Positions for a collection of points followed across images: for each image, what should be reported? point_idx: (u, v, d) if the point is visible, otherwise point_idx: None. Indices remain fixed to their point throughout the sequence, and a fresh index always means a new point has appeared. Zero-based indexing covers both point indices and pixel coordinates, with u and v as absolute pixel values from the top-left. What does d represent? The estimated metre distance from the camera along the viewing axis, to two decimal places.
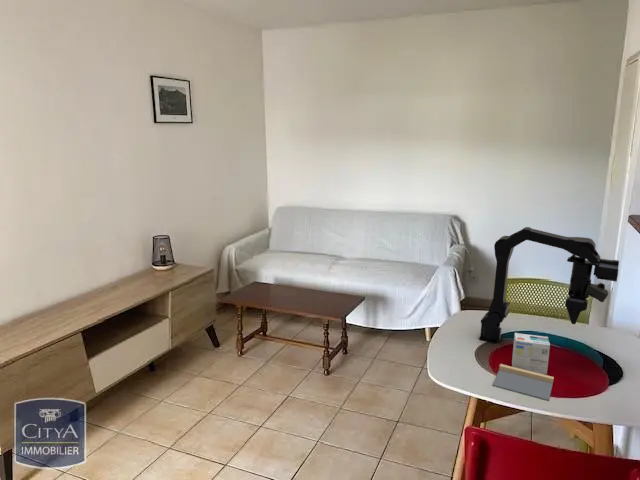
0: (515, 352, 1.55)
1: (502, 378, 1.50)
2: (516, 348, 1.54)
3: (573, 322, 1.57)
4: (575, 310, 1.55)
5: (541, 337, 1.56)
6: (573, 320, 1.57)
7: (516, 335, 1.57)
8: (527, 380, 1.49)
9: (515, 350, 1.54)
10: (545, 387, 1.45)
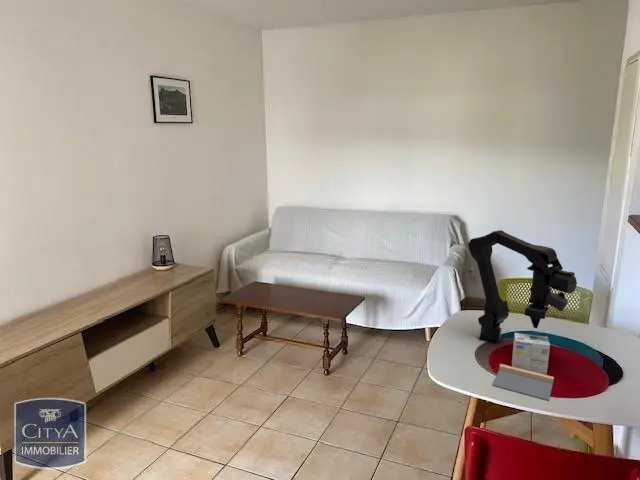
0: (515, 352, 1.55)
1: (502, 378, 1.50)
2: (516, 348, 1.54)
3: (535, 326, 1.62)
4: None
5: (541, 337, 1.56)
6: (535, 324, 1.61)
7: (516, 335, 1.57)
8: (527, 380, 1.49)
9: (515, 350, 1.54)
10: (545, 387, 1.45)
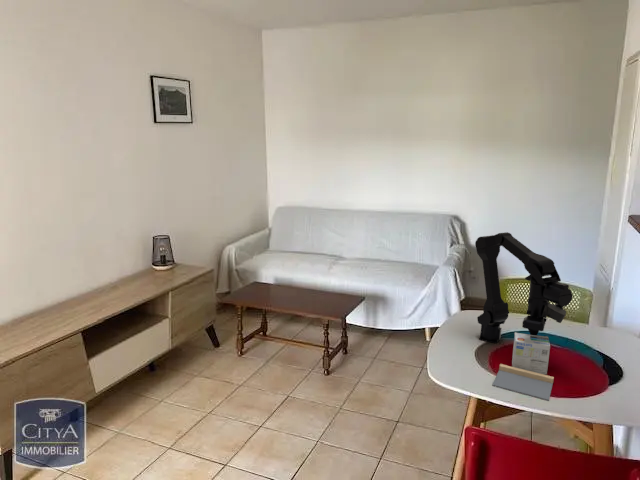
0: (515, 352, 1.54)
1: (502, 378, 1.50)
2: (516, 348, 1.54)
3: None
4: None
5: (541, 337, 1.55)
6: None
7: (516, 335, 1.57)
8: (527, 380, 1.49)
9: (515, 350, 1.54)
10: (545, 387, 1.45)
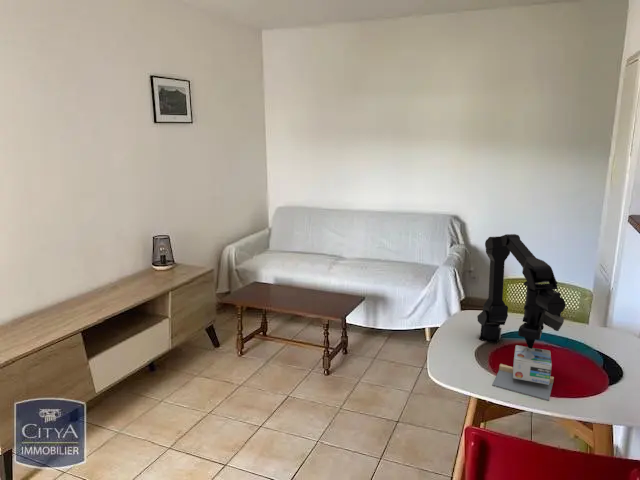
0: None
1: (502, 378, 1.50)
2: None
3: (530, 346, 1.52)
4: None
5: (543, 368, 1.43)
6: (530, 344, 1.52)
7: (515, 366, 1.46)
8: None
9: None
10: (545, 387, 1.45)
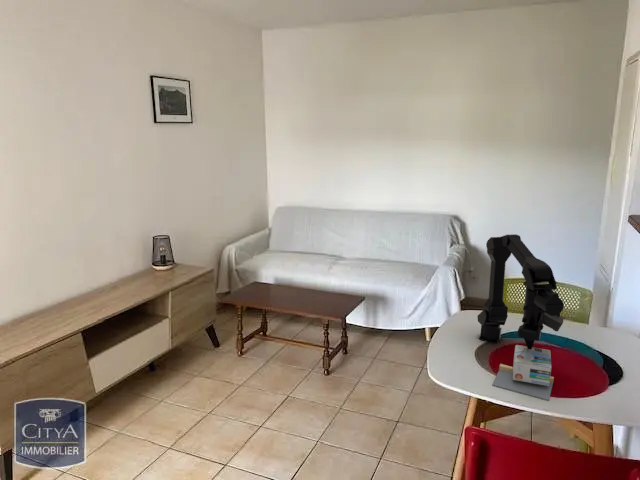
0: None
1: (502, 378, 1.50)
2: None
3: (529, 347, 1.51)
4: None
5: (543, 370, 1.43)
6: (529, 345, 1.51)
7: (515, 368, 1.46)
8: None
9: None
10: (545, 387, 1.45)
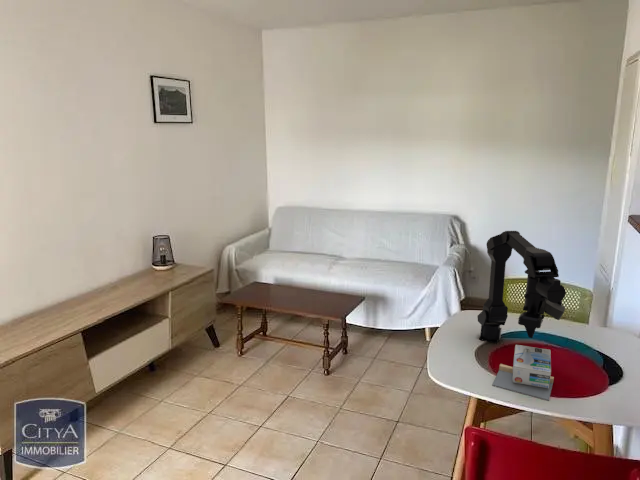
0: None
1: (502, 378, 1.50)
2: None
3: (530, 336, 1.50)
4: None
5: (542, 374, 1.42)
6: (530, 333, 1.49)
7: (514, 372, 1.46)
8: None
9: None
10: None
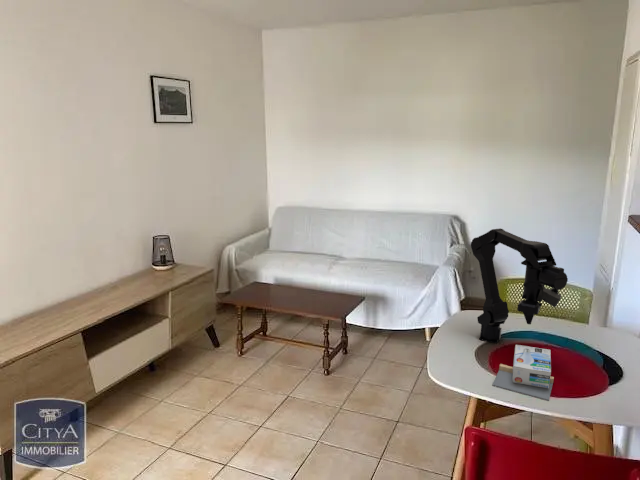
0: None
1: (502, 378, 1.50)
2: None
3: (528, 322, 1.60)
4: None
5: (542, 374, 1.42)
6: (529, 320, 1.59)
7: (514, 372, 1.46)
8: None
9: None
10: None
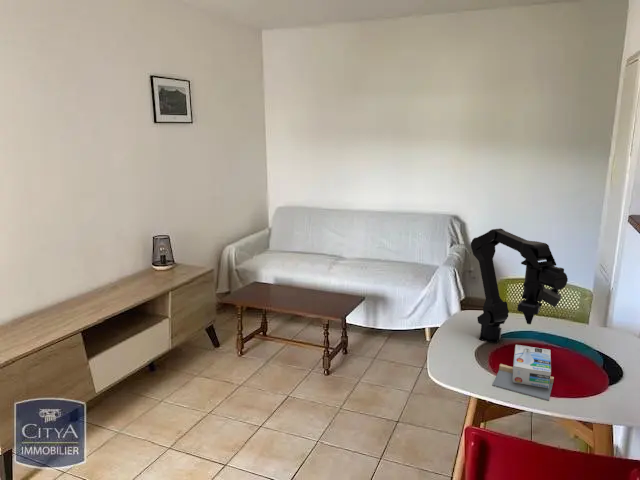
0: None
1: (502, 378, 1.50)
2: None
3: (528, 322, 1.60)
4: None
5: (542, 374, 1.42)
6: (529, 320, 1.59)
7: (514, 372, 1.46)
8: None
9: None
10: None
